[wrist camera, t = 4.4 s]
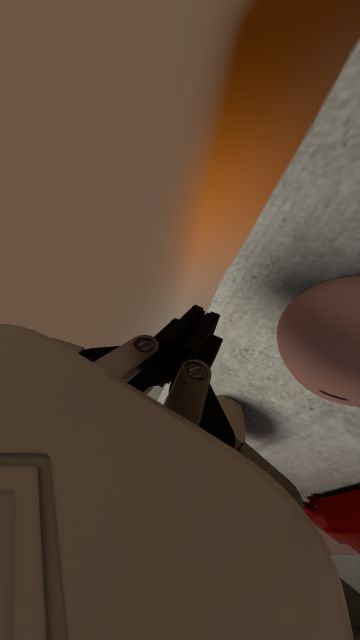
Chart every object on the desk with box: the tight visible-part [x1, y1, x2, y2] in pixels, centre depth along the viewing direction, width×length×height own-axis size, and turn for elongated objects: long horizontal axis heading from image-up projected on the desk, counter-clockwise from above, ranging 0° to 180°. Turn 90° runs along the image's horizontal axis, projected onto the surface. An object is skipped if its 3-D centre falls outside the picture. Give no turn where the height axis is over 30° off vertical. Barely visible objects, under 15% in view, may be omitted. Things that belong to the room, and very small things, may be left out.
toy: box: [277, 276, 360, 407], centre depth 14 cm, size 9×9×10 cm
